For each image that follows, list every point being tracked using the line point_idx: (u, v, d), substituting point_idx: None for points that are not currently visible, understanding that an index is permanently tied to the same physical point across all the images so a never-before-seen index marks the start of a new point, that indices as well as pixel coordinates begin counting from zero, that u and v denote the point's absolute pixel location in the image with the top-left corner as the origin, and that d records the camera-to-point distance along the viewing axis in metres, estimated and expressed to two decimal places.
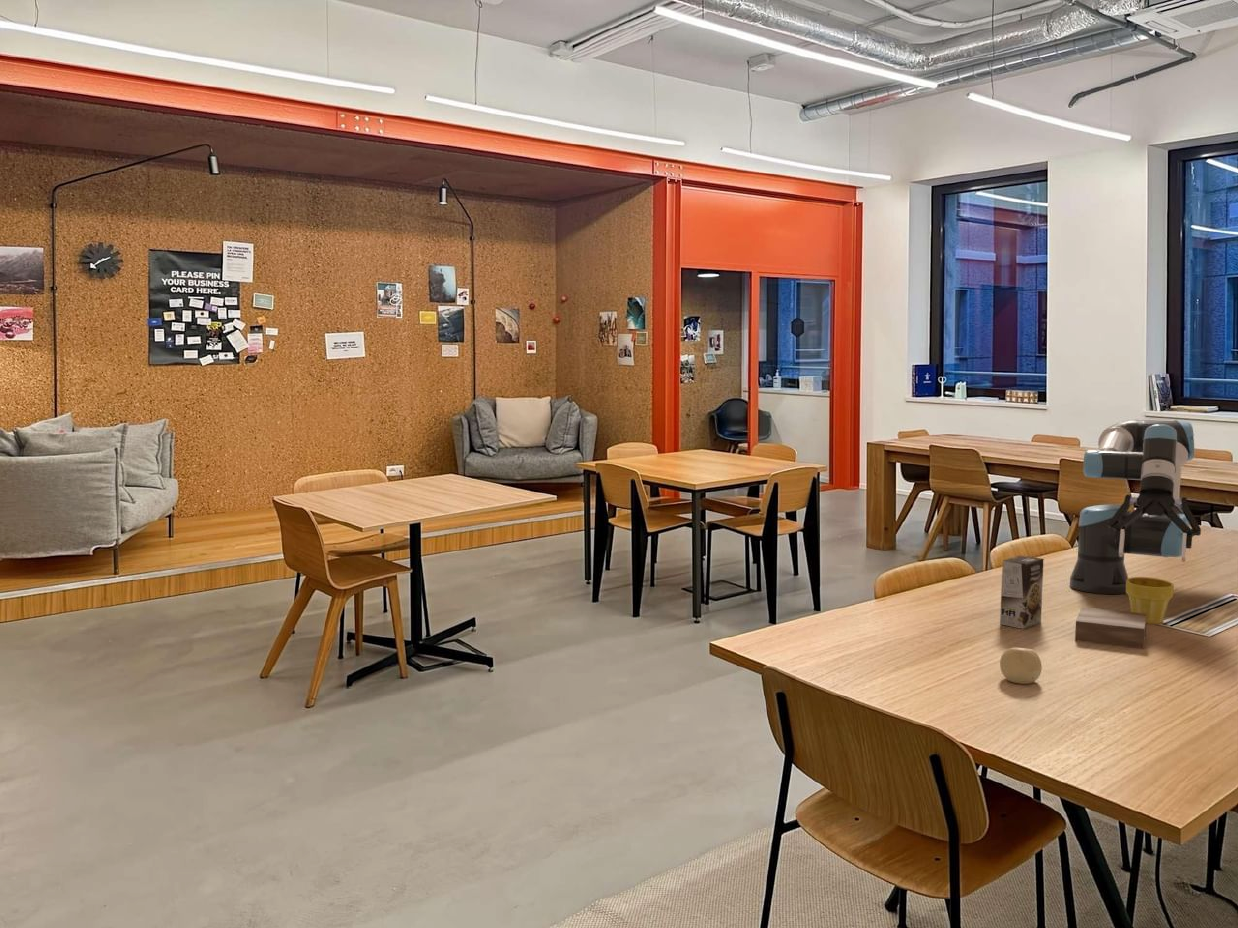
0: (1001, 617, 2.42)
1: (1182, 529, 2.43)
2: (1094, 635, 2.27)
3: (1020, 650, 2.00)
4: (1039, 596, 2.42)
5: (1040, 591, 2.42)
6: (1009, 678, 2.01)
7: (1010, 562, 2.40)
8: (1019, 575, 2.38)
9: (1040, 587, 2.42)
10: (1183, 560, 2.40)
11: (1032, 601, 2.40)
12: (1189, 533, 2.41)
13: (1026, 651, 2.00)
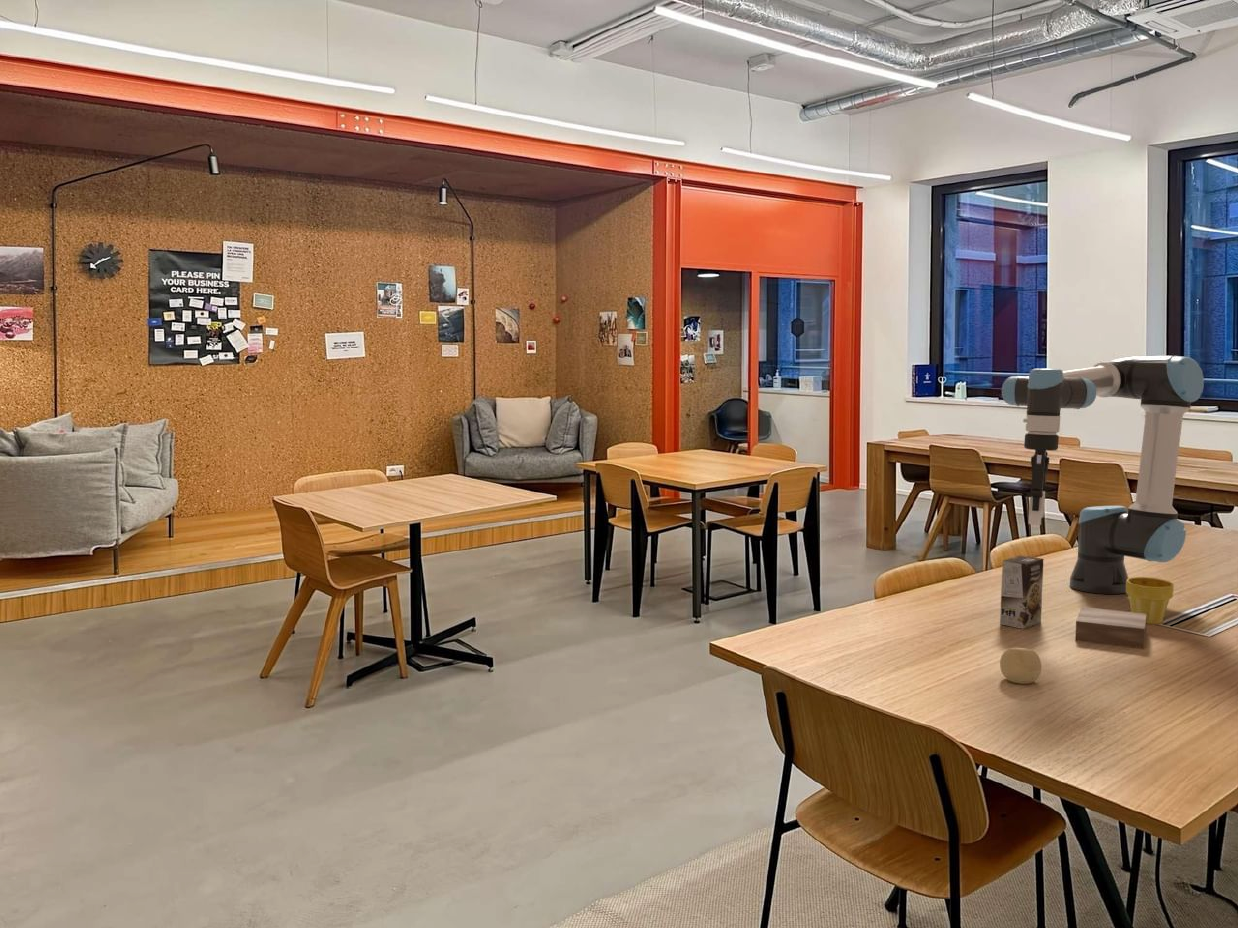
0: (1001, 617, 2.42)
1: None
2: (1094, 635, 2.27)
3: (1020, 650, 2.00)
4: (1039, 596, 2.42)
5: (1040, 591, 2.42)
6: (1009, 678, 2.01)
7: (1010, 562, 2.40)
8: (1019, 575, 2.38)
9: (1040, 587, 2.42)
10: (1037, 524, 2.33)
11: (1032, 601, 2.40)
12: (1031, 496, 2.33)
13: (1026, 651, 2.00)
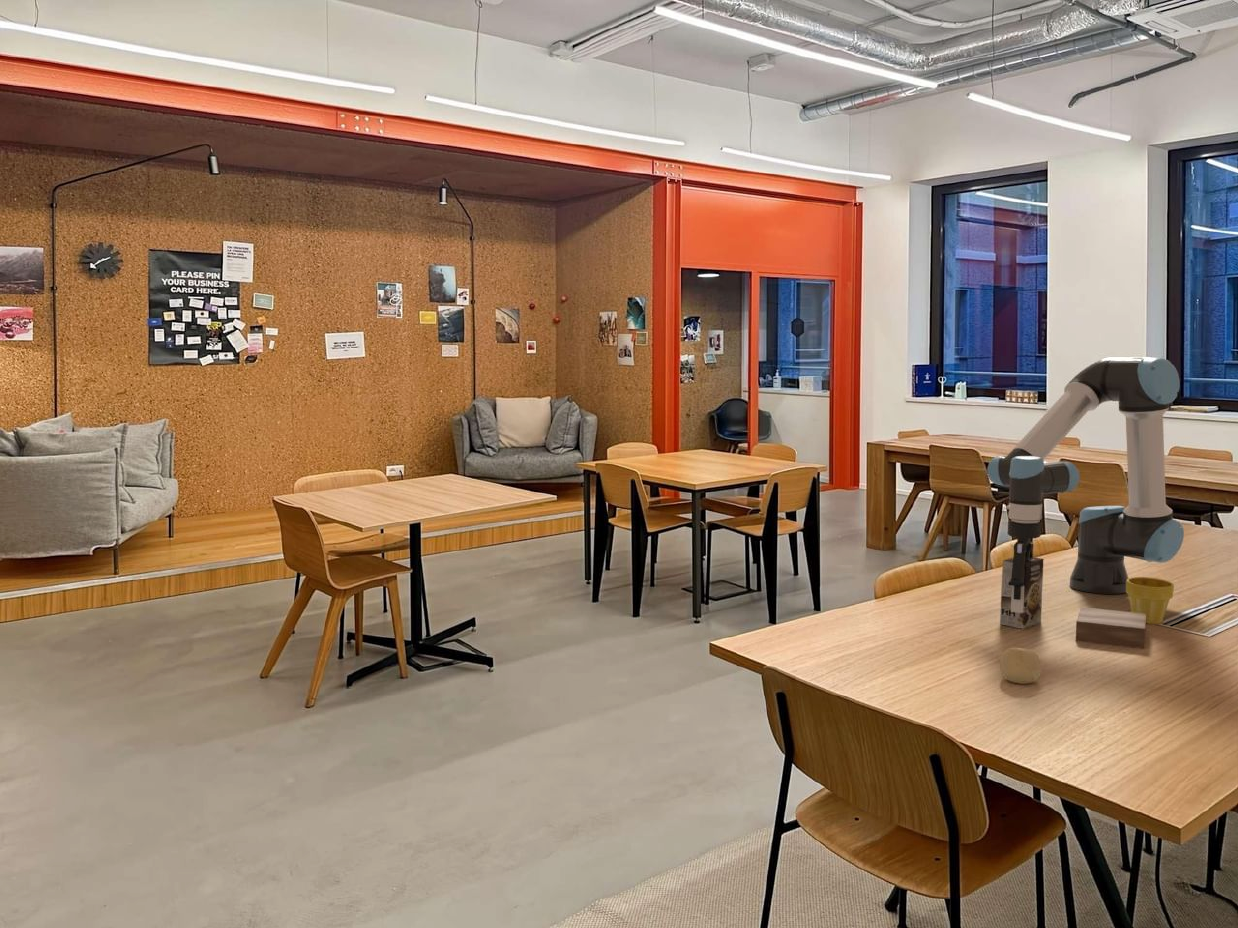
0: (1001, 617, 2.42)
1: None
2: (1094, 635, 2.27)
3: (1020, 650, 2.00)
4: (1039, 596, 2.42)
5: (1040, 591, 2.42)
6: (1009, 678, 2.01)
7: (1010, 562, 2.40)
8: None
9: (1040, 587, 2.42)
10: None
11: (1032, 601, 2.40)
12: (1012, 585, 2.36)
13: (1026, 651, 2.00)
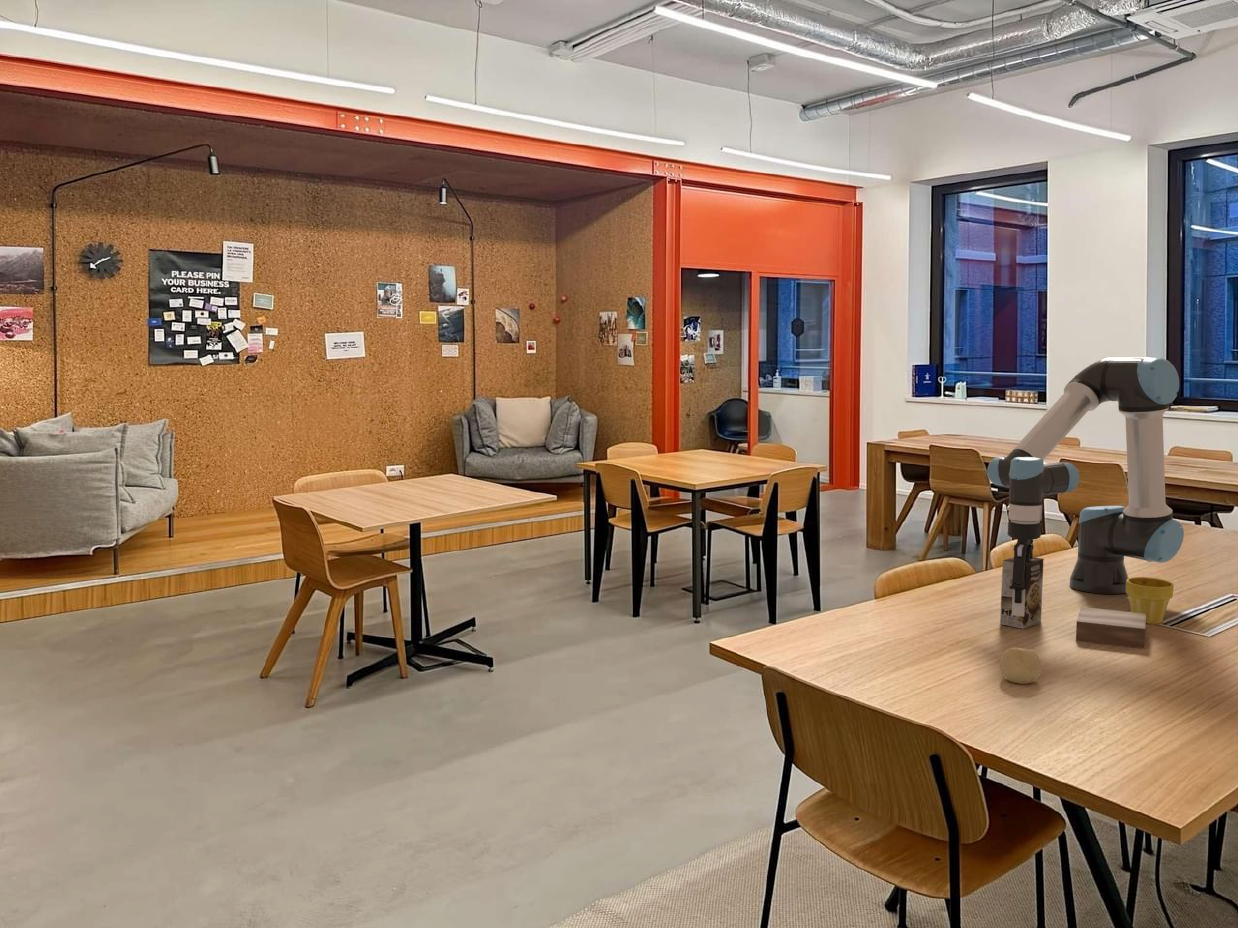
0: (1001, 617, 2.42)
1: None
2: (1094, 635, 2.27)
3: (1020, 650, 2.00)
4: (1039, 596, 2.42)
5: (1040, 591, 2.42)
6: (1009, 678, 2.01)
7: (1010, 562, 2.40)
8: None
9: (1040, 587, 2.42)
10: None
11: (1032, 601, 2.40)
12: None
13: (1026, 651, 2.00)
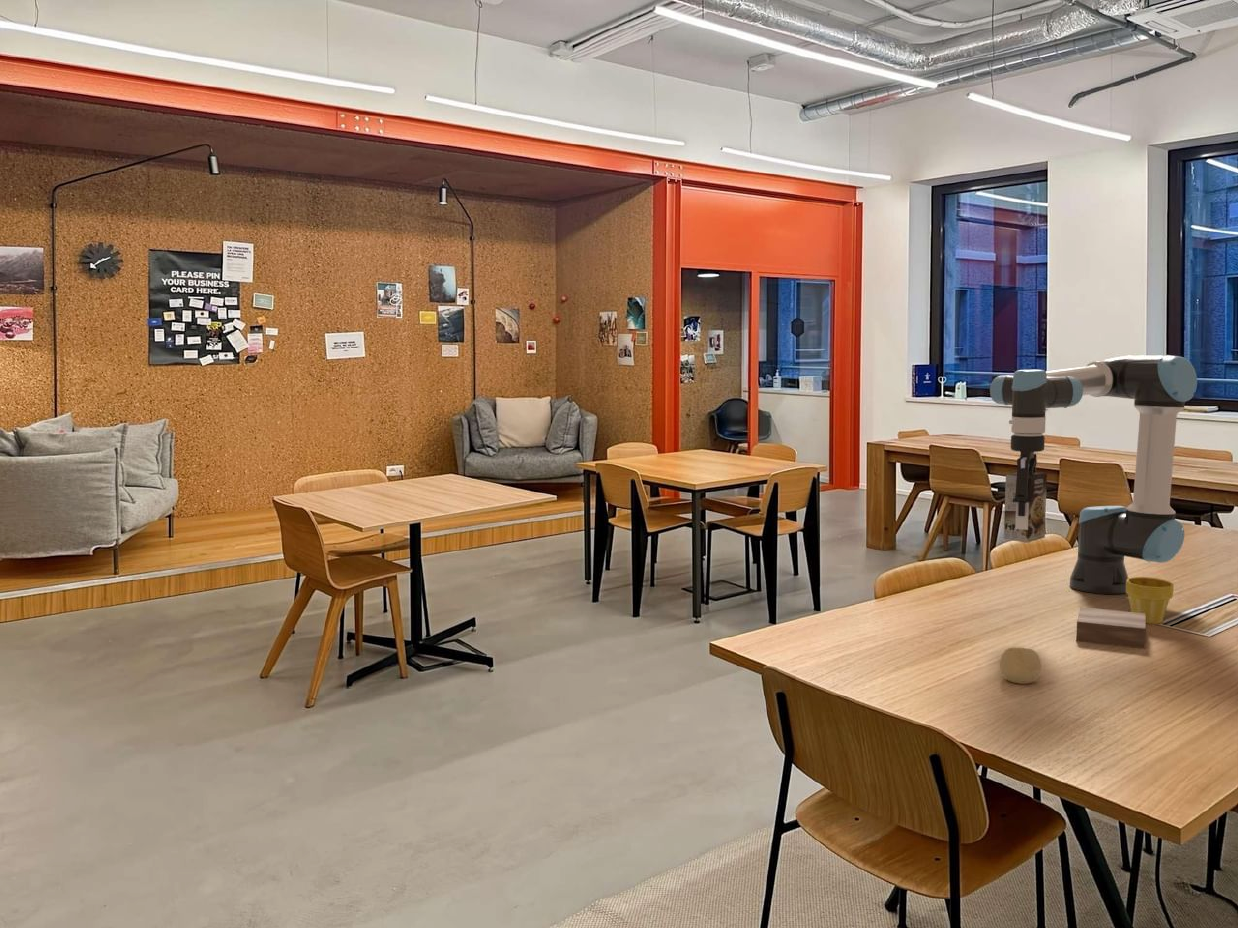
0: (1004, 532, 2.40)
1: None
2: (1095, 635, 2.27)
3: (1020, 650, 2.00)
4: (1043, 510, 2.40)
5: (1044, 506, 2.40)
6: (1009, 678, 2.01)
7: (1013, 476, 2.37)
8: None
9: (1044, 501, 2.40)
10: None
11: (1036, 515, 2.37)
12: None
13: (1026, 651, 2.00)
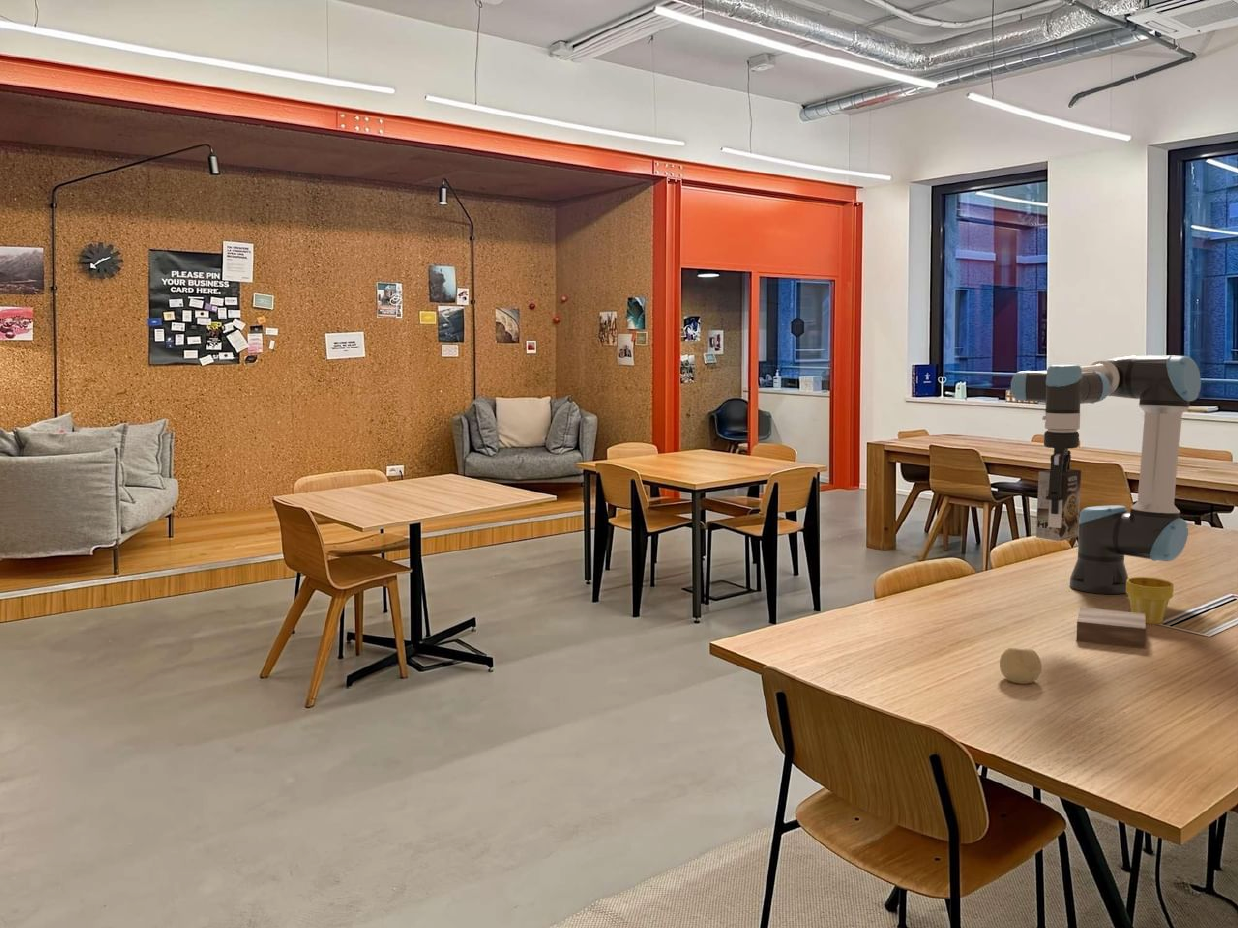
0: (1037, 530, 2.35)
1: None
2: (1095, 636, 2.27)
3: (1020, 650, 2.00)
4: (1076, 508, 2.35)
5: (1077, 503, 2.35)
6: (1009, 678, 2.01)
7: (1046, 472, 2.33)
8: None
9: (1077, 499, 2.35)
10: None
11: (1069, 513, 2.33)
12: None
13: (1026, 651, 2.00)
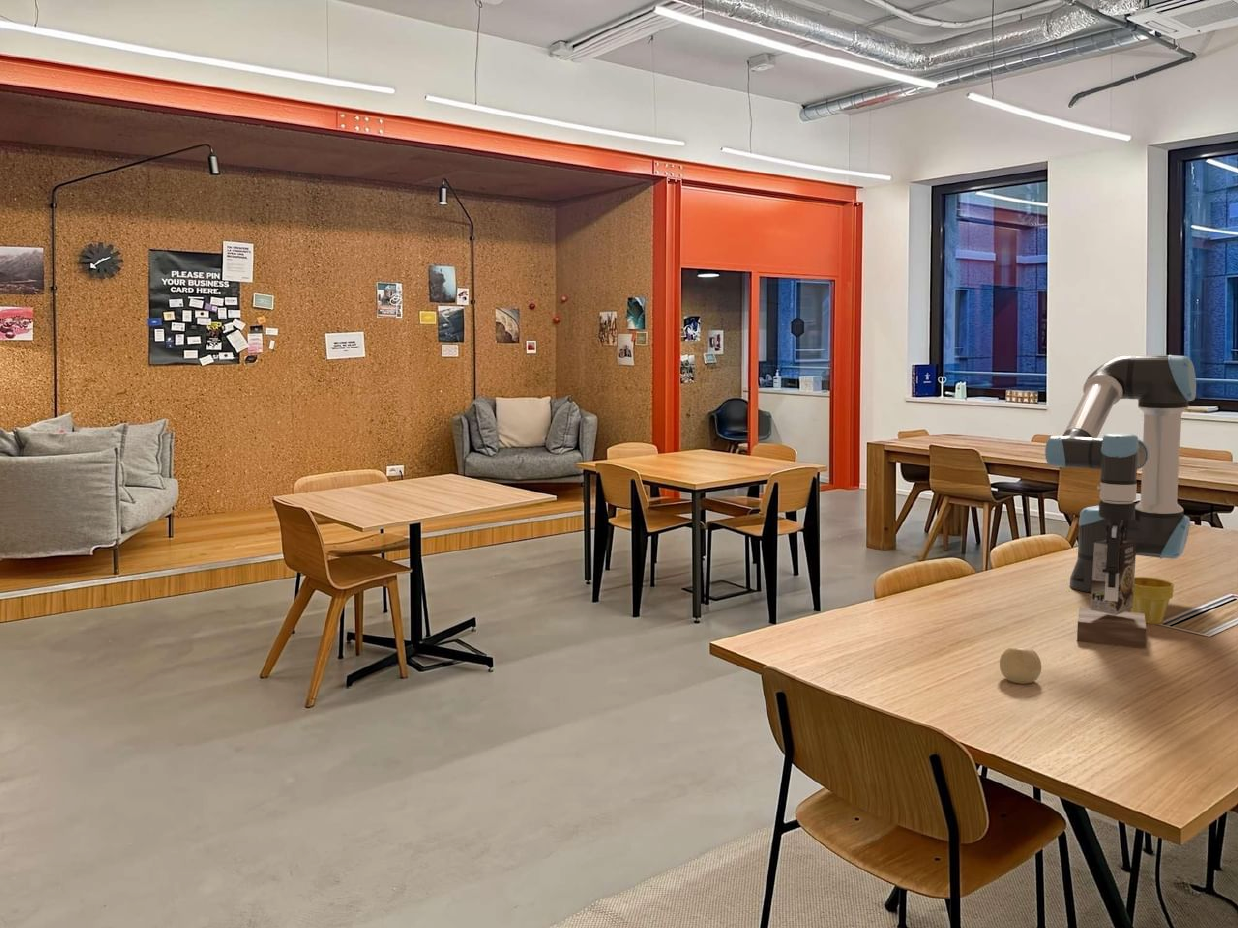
0: (1092, 602, 2.30)
1: None
2: (1096, 636, 2.27)
3: (1020, 650, 2.00)
4: (1132, 580, 2.30)
5: (1133, 575, 2.30)
6: (1009, 678, 2.01)
7: (1102, 544, 2.27)
8: None
9: (1133, 571, 2.30)
10: None
11: (1126, 586, 2.27)
12: None
13: (1026, 651, 2.00)
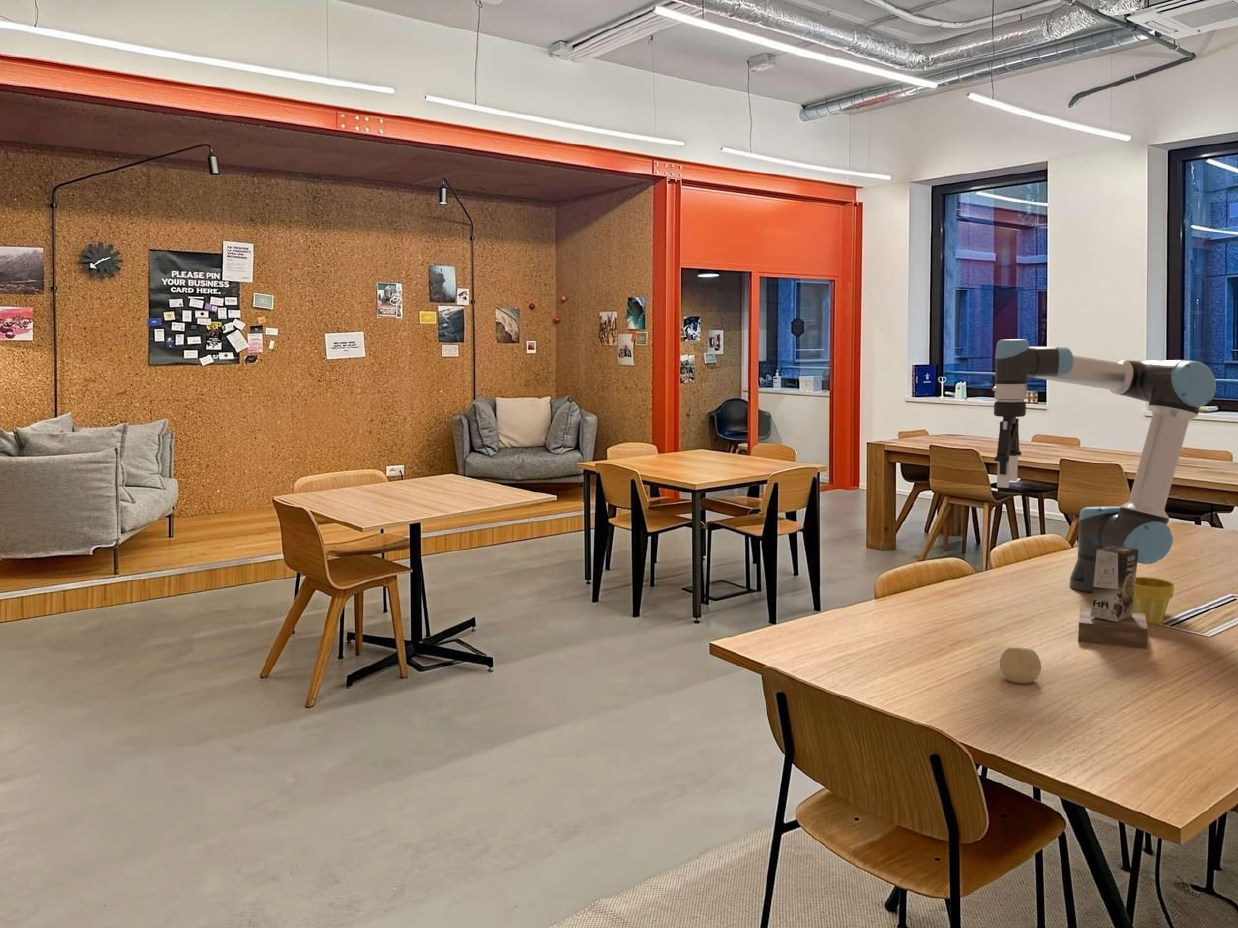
0: (1092, 609, 2.30)
1: None
2: (1097, 636, 2.26)
3: (1019, 650, 2.00)
4: (1132, 588, 2.30)
5: (1133, 583, 2.30)
6: (1008, 678, 2.01)
7: (1105, 551, 2.28)
8: (1115, 565, 2.26)
9: (1134, 579, 2.30)
10: None
11: (1126, 593, 2.28)
12: (998, 461, 2.46)
13: (1025, 651, 2.00)
